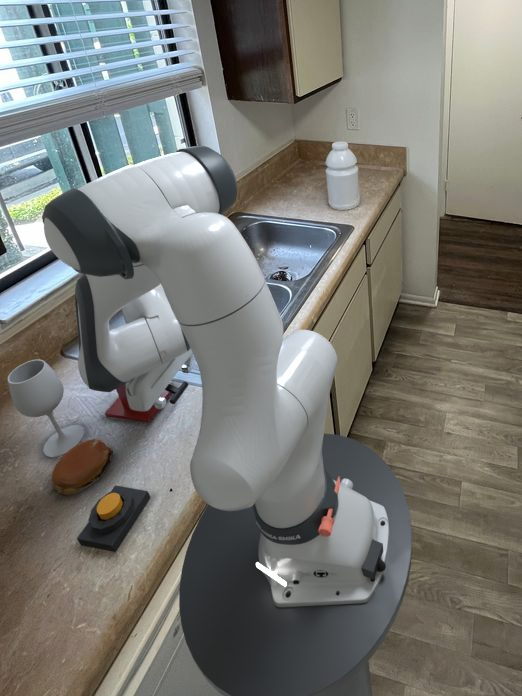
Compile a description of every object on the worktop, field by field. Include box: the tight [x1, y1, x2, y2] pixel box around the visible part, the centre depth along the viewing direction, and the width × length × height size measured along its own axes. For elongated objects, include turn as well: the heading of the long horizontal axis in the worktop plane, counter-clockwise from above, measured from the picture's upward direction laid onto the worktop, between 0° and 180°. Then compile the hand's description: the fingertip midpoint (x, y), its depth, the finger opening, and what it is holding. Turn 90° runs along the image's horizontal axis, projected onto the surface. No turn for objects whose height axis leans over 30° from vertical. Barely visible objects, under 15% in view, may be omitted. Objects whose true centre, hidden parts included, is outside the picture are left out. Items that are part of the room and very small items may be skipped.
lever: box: [165, 381, 190, 405], centre depth 98 cm, size 15×5×2 cm, turn 82°
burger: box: [51, 438, 114, 496], centre depth 87 cm, size 10×9×5 cm
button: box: [97, 493, 123, 520], centre depth 78 cm, size 4×4×2 cm
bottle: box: [324, 140, 361, 211], centre depth 187 cm, size 14×14×28 cm
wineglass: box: [7, 359, 85, 458], centre depth 90 cm, size 8×8×21 cm
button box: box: [76, 484, 151, 553], centre depth 79 cm, size 7×9×4 cm
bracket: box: [104, 384, 173, 424], centre depth 100 cm, size 11×9×14 cm
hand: (175, 387), depth 98 cm, fingers open, 8 cm apart
